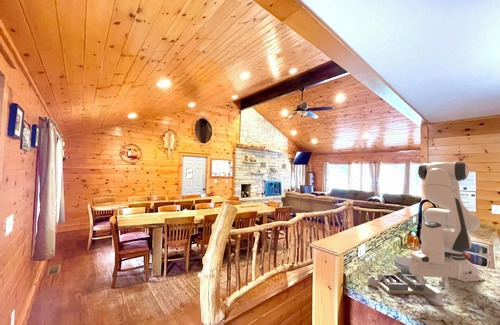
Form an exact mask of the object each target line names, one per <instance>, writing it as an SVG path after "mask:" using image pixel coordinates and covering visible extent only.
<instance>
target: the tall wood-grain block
mask: <svg viewBox="0 0 500 325" xmlns="http://www.w3.org/2000/svg"><path fill="white" fill-rule="evenodd" d="M428 284H429V283H426V284H425V285H424V294H423V296H424V298H426V299H427V300H428V301H430V302H431V303H432V304H434V305H435V306H443V292H442V291H441V290H439V289H438V288H436V287H434V285H433V286H431V285H428Z"/></svg>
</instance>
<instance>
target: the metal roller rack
mask: <svg viewBox="0 0 500 325" xmlns="http://www.w3.org/2000/svg"><path fill="white" fill-rule="evenodd" d="M382 274H383V275H384V276H383V278H382V279H381V281H380V282H379V281H378V285H379V286H380V287H381V288H382V289H383V290H384V291H385V292H386V293H388V294H413V295H415V294H416V295H418V294H419V295H420V294H422V295H424V285H421V284H420V280H419V279H418V277H417V276H414V275H403V274H402V273H401V274H400V277H398V276H397V275H396V274H394V273H393V274H392V273H382ZM380 275H381V273H377V279H378V278H379V276H380ZM425 284H428V285H431V286H433V287H434V284H432V283H426V282H425Z"/></svg>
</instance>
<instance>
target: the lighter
mask: <svg viewBox="0 0 500 325" xmlns="http://www.w3.org/2000/svg"><path fill="white" fill-rule="evenodd" d="M380 274H381V275H380V276H379V278H378V277H377V278H376V276H375V275H370V276H368V286H370V285H371V286H370V287H372V286H373V287H372V288H375V287H376V288H375V289H378V287H379V286H378V285H379V284H378V281H379V282H380V281H381V279H382V278H383V276H384V275H383V274H384V273H382V272H381V273H380Z"/></svg>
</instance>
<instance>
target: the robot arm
mask: <svg viewBox="0 0 500 325" xmlns="http://www.w3.org/2000/svg"><path fill="white" fill-rule="evenodd" d="M417 173H418V177H419V178H420V179H421V180H424V185H423V194H424V197H425V198H426V200H428V201H429V202H430V203H432V204H434V205H436V206H439V207H442V208H439V207H437V208H434V207H433V208H427V209H426V210H424V212H423V218H424V220H425V221H424V222H422V223H421V228H420V229H419V240H420V241H421V246H420V249H419V250H415V251H412V252H410V253H409V257H410V258H411V259H410V261H409V271H410V273H411V274H413V275H414V276H417V277H418V279H419V280H420V284H421V285H425V283H426V281H424V280H423V279H424V277H428V278H429V277H430V278H431V277H432V278H441V279H440V280H439V281H438V284H439V286H441V287H446V284H447V282H448V280H449V278H450V279H455V280H458V281H461V282H464V283H465V282H466V283H470V282H478V281H479V280H480V281H485V277H484V276H482V275H481V274H480V273H479V270H478V267H477V266H476V265H474V264H473V263H472V262H471V261H469V260H468V259H467V258H469V259H470V257H471V254H469V253H465V252H468V251H471V248H472V240H471V236H470V235H469V232H475V231H477V230H478V229H479V228H480V226H481V221H480V218H479V217H478V216H477V215H476V214H475V213H473V212H471V211H470V210H469V209H467V207H466V206H465V205H464V203H463V200H462V198H461V193H460V192H461V190H460V183H459V182H461V181H464V180H466V179H467V178H468V176H469V174H470V169H469V167H468V166H467V164H466V163H465V162H461V161H456V162H455V161H441V162H439V161H438V162H429V163H428V162H426V163H422V164H420V165H419V166H418V169H417ZM469 281H470V282H469Z"/></svg>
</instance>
